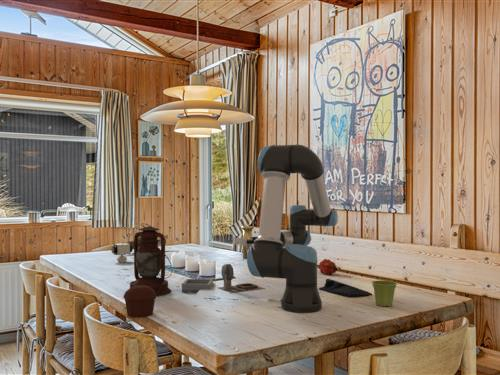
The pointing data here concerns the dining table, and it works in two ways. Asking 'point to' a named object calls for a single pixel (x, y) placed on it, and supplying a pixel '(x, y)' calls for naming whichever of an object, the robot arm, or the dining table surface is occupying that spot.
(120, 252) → the pneumatic valve
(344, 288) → the dark slate chunk
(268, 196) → the robot arm
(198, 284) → the tray
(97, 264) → the dining table surface
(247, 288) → the board
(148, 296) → the muffin
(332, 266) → the red bumpy oval lump
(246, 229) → the lock pin
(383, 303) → the plant pot
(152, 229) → the lantern
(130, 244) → the wood carving
